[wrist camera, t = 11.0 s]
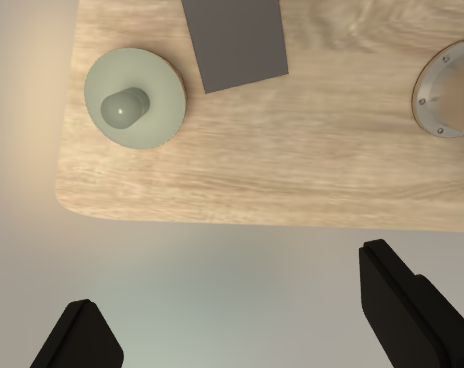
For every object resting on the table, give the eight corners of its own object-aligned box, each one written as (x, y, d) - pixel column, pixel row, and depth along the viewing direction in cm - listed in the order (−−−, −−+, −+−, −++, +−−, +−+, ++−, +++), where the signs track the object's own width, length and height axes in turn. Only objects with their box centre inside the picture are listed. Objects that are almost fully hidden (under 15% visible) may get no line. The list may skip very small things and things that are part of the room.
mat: (273, -28, 33) (274, -29, 32) (287, 73, 37) (288, 73, 37) (181, -3, 34) (180, -4, 33) (205, 93, 38) (205, 93, 38)
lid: (169, 36, 31) (155, 32, 24) (197, 135, 35) (192, 154, 29) (71, 61, 31) (32, 64, 25) (111, 155, 36) (87, 178, 29)
